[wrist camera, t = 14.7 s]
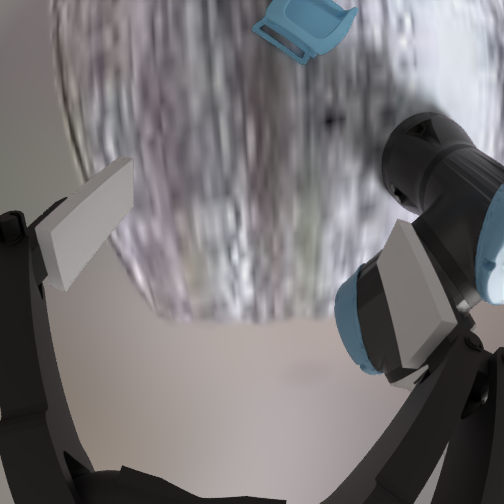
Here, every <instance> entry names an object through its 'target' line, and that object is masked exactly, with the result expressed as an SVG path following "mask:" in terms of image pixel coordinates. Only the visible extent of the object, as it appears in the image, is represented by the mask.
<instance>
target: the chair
mask: <svg viewBox="0 0 504 504" xmlns="http://www.w3.org/2000/svg"><path fill="white" fill-rule="evenodd" d="M357 12H358V8H356V7H354V8H352V9H350V10H346V11H345V10H344V9H343V8H341V7H340V6H339V5H337V4H336V3H335V2H333V1H332V0H273V1H272V2H271V4H270V5H269V7H268V8H267V10H266V16H265V17H264V18H263V19H262V20H260V21H259V22H257V23H256V24H255V25H254V26H253V27H252V31H253V32H255V33H256V34H258V35H259V36H261V37H263V38H264V39H266V40H267V41H269V42H270V43H272V44H273V45H275V46H276V47H278V48H279V49H280V50H282V51H283V52H285V53H286V54H288V55H289V56H290V57H292V58H293V59H295V60H296V61H297V62H299V63H300V64H302V65H305V64H306V63H307V62H308V60H309V58H310V57H312V58H315V56H316V55H317V54H319V55H324V54H326V53H328V52H329V51H330V50H332V49H333V48H334V47H335V46H336V45H337V44H339V42H340V41H341V40H342V39H343V38H344V37H345V36H346V34H347V32H348V31H349V29H350V27H351V24H352V22H353V19H354V17H355V16H356V14H357ZM264 25H266V26H268V27H269V28H271V29H272V30H274V31H276V32H277V33H279V34H280V35H282V36H283V37H285V38H286V39H287V40H289V41H290V42H292V43H293V44H294V45H296V46H297V47H298V48H300V49H301V50H302V51H304V55H303V57H302V58H300V57H299V56H297V55H296V54H295V53H293V52H292V51H291V50H289V49H288V48H286V47H285V46H284V45H282V44H281V43H279V42H278V41H277V40H275V39H274V38H272V37H271V36H269V35H268V34H266V33H265V32H263V31H262V30H261V29H260V27H262V26H264Z"/></svg>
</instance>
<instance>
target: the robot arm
mask: <svg viewBox="0 0 504 504" xmlns="http://www.w3.org/2000/svg"><path fill="white" fill-rule="evenodd" d="M133 162H134V158H127V157H121V156H120V157H119V158H117V159H116V160H115V161H113V162H112V163H111V164H109V165H108V166H107V167H105V168H104V169H103V170H101V171H100V172H99V173H98V174H96V175H95V176H94V177H93V178H91V179H90V180H89V181H88V182H86V183H85V184H84V185H83V186H81V187H80V188H79V189H78V190H77V191H75V192H74V193H73V194H72V195H71V196H70V197H65V198H63V199H61V200H59V201H57V202H55V203H54V204H53V205H52V206H51V207H50V208H49V209H47V210H46V211H45V212H44V213H43V215H41V216H39V217H38V218H37V219H36V220H35V221H34V222H33V223H32V224H31V225H30V226H29V227H27V226H26V222H25V217H24V214H23V213H22V212H21V211H16V210H15V211H9V212H6V213H4V214H2V215H0V408H1V416H2V417H1V420H0V456H1V460H2V463H3V467H4V471H5V475H6V478H7V482H8V485H9V488H10V491H11V494H12V497H13V500H14V503H15V504H286V500H277V499H267V498H257V497H249V496H241V497H226V498H201V497H198V496H195V495H193V494H191V493H189V492H187V491H185V490H183V489H181V488H179V487H177V486H175V485H173V484H171V483H169V482H168V481H166V480H164V479H162V478H159V477H156V476H153V475H149V474H146V473H143V472H140V471H137V470H134V469H131V468H128V467H125V466H122V468H121V470H120V471H116V470H115V471H114V470H105V471H97V472H95V471H94V468H93V466H92V464H91V462H90V460H89V458H88V456H87V454H86V452H85V450H84V449H83V447H82V445H81V443H80V441H79V438H78V435H77V432H76V430H75V426H74V424H73V420H72V417H71V414H70V411H69V408H68V404H67V401H66V397H65V394H64V390H63V386H62V383H61V379H60V375H59V371H58V367H57V362H56V358H55V352H54V348H53V343H52V337H51V332H50V326H49V320H48V313H47V306H46V299H45V291H44V286H43V283H42V281H43V280H44V279H45V278H46V276H48V279H49V282H50V285H51V287H53V288H56V289H59V290H61V291H64V292H66V291H67V289H68V288H69V287H70V285H71V284H72V282H73V281H74V280H75V278H76V277H77V276H78V274H79V273H80V272H81V270H82V269H83V268H84V266H85V265H86V264H87V263H88V261H89V260H90V259H91V257H92V256H93V255H94V254H95V252H96V251H97V250H98V249H99V247H100V246H101V245H102V244H103V242H104V241H105V240H106V239H107V237H108V236H109V235H110V234H111V233H112V231H113V230H114V229H115V228H116V227H117V225H118V224H119V223H120V222H121V221H122V220H123V218H124V217H125V216H126V215H127V214H128V213H129V211H130V210H131V209H132V208H133ZM382 174H383V179H384V182H385V185H386V187H387V189H388V191H389V192H390V193H391V195H392V196H393V197H394V199H395V200H396V201H397V202H398V203H399V204H400V205H401V206H402V207H403V208H405V209H406V210H408V211H410V212H412V213H415V214H417V215H419V217H418V218H417V219H416V220H415V221H414V222H413V223H409V222H406V221H403V220H399V219H397V221H396V223H395V226H394V228H393V230H392V232H391V234H390V236H389V238H388V240H387V242H386V244H385V246H384V248H383V249H382V250H381V251H380V252H379V253H377V254H376V255H375V256H374V257H373V258H372V259H370V260H369V261H368V262H367V263H366V264H365V263H364V264H362V265H361V266H360V267H359V268H358V269H357V271H356V272H355V273H354V274H353V275H352V276H351V277H350V278H349V279H348V280H347V281H346V282H344V283H343V284H342V285H341V287H340V288H339V290H338V291H337V294H336V298H335V307H334V311H335V319H336V324H337V328H338V331H339V334H340V337H341V339H342V342H343V344H344V346H345V348H346V350H347V352H348V353H349V355H350V356H351V358H352V360H353V361H354V362H355V363H356V364H358V365H360V368H361V370H362V371H364V372H366V373H367V374H370V375H376V374H378V375H380V374H382V373H384V374H385V376H386V377H387V379H388V381H389V383H390V385H391V386H394V387H398V388H403V389H407V390H408V391H410V392H411V394H410V395H409V397H408V398H407V400H406V401H405V403H404V404H403V406H402V407H401V409H400V410H399V412H398V413H397V415H396V416H395V418H394V419H393V420H392V422H391V423H390V425H389V426H388V427H387V429H386V430H385V431H384V433H383V434H382V436H381V437H380V438H379V439H378V441H377V442H376V443H375V445H374V446H373V447H372V448H371V450H370V451H369V452H368V453H367V455H366V456H365V457H364V458H363V460H362V461H361V462H360V463H359V464H358V466H357V467H356V468H355V469H354V470H353V471H352V472H351V474H350V475H349V476H348V477H347V478H346V479H345V480H344V482H343V483H342V484H341V485H340V486H339V487H338V488H337V489H336V490H335V491H334V492H333V493H332V494H331V495H330V496H329V497H328V498H327V499H325V500H324V501H323V502H321V503H320V504H414V502H415V500H416V498H417V497H418V495H419V494H420V492H421V490H422V489H423V487H424V486H425V484H426V482H427V481H428V479H429V477H430V476H431V474H432V472H433V470H434V468H435V467H436V465H437V463H438V461H439V459H440V458H441V456H442V454H443V455H444V457H445V459H444V463H443V466H442V470H441V473H440V476H439V480H438V483H437V486H436V489H435V492H434V495H433V498H432V501H431V504H504V347H499V348H498V349H497V351H496V352H495V353H494V354H492V353H489V352H488V351H486V350H484V347H483V344H482V342H481V340H480V339H479V337H478V336H477V335H476V334H475V331H476V326H477V325H476V323H475V322H474V320H473V318H472V317H471V315H470V313H469V311H470V310H471V309H472V308H473V307H474V306H475V305H477V304H478V303H479V302H480V301H481V300H484V301H485V302H488V303H489V304H492V305H502V304H504V166H503V165H501V164H500V163H498V162H497V161H495V160H494V159H492V158H491V157H489V156H488V155H486V154H485V153H483V152H482V151H480V150H478V149H477V148H476V146H475V145H474V143H473V142H472V140H471V139H470V137H469V136H468V135H467V133H466V132H465V131H464V129H463V128H462V127H461V126H460V125H458V124H457V123H456V122H454V121H453V120H451V119H449V118H447V117H445V116H443V115H440V114H437V113H421V114H417V115H414V116H412V117H410V118H408V119H406V120H405V121H403V122H402V123H401V124H400V125H399V126H398V127H397V128H396V129H395V130H394V131H393V133H392V134H391V136H390V138H389V139H388V141H387V144H386V146H385V149H384V152H383V157H382Z"/></svg>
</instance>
